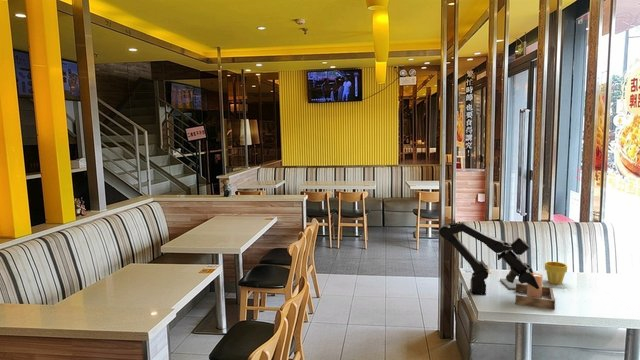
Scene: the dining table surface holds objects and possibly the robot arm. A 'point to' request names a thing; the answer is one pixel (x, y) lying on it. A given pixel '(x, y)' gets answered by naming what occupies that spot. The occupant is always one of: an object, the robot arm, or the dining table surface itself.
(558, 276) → the plant pot
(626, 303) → the dining table surface
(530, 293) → the candle
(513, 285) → the slate mat
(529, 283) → the robot arm
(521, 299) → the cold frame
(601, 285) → the dining table surface
